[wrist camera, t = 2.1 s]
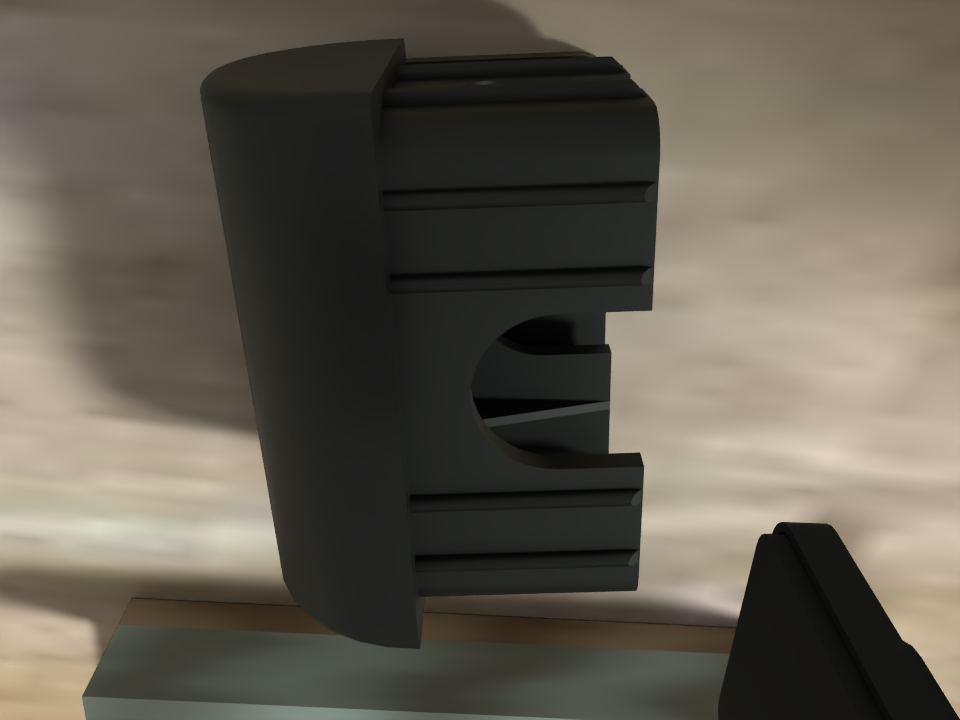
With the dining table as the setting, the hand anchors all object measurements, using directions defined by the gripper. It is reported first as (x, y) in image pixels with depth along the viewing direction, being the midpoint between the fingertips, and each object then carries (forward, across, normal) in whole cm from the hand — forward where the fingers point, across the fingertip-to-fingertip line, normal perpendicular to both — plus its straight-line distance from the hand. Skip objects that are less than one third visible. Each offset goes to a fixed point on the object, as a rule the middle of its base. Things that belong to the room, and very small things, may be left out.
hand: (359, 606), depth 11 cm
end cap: (+11, -1, 0) cm, 11 cm away
